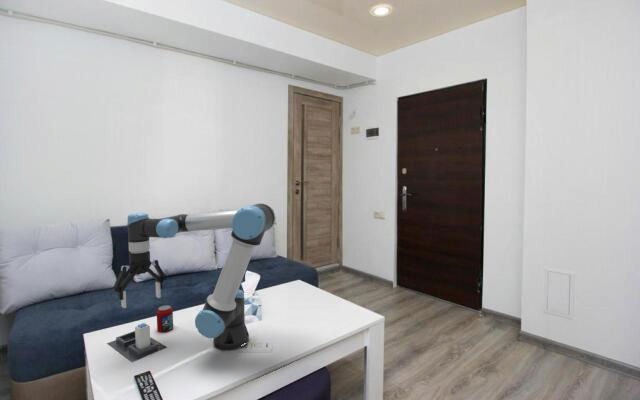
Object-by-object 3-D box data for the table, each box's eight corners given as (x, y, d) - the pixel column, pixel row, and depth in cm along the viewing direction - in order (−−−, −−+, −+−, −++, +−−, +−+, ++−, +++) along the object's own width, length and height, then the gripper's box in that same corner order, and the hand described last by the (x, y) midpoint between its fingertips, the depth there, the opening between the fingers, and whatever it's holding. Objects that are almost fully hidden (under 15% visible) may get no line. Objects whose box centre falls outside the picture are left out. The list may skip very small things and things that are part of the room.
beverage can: (167, 336, 151) (166, 311, 150) (154, 335, 152) (153, 309, 151) (176, 330, 157) (175, 305, 156) (163, 328, 159) (162, 304, 158)
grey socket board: (167, 350, 139) (167, 342, 138) (132, 366, 127) (131, 357, 127) (140, 334, 153) (140, 326, 153) (106, 346, 142) (106, 338, 142)
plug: (150, 349, 137) (149, 324, 136) (140, 353, 134) (139, 327, 133) (145, 346, 139) (144, 321, 139) (136, 350, 136) (134, 325, 135)
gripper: (165, 245, 147) (167, 291, 149) (101, 255, 128) (104, 309, 130) (173, 247, 143) (175, 295, 144) (108, 258, 123) (111, 314, 125)
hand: (141, 302), depth 137 cm, fingers open, 13 cm apart
